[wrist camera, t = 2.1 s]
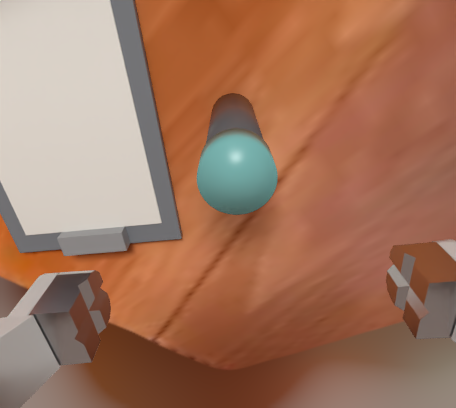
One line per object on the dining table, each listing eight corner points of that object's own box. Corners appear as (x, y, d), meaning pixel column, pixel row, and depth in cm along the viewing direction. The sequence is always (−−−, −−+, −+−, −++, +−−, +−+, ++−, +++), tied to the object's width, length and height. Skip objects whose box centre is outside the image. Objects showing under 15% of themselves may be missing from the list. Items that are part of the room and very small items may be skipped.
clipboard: (-106, -15, 22) (-132, -18, 20) (125, -44, 21) (117, -50, 20) (23, 249, 32) (12, 260, 31) (182, 235, 32) (179, 246, 30)
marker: (207, 94, 25) (191, 144, 14) (254, 89, 25) (276, 136, 14) (212, 139, 27) (202, 217, 16) (256, 135, 27) (278, 211, 16)
